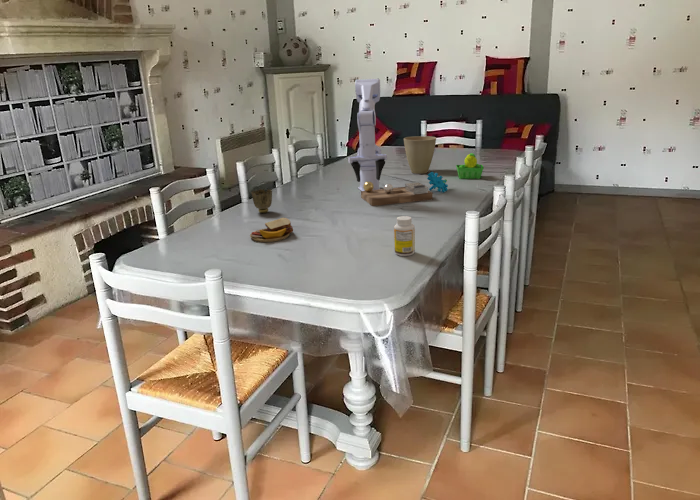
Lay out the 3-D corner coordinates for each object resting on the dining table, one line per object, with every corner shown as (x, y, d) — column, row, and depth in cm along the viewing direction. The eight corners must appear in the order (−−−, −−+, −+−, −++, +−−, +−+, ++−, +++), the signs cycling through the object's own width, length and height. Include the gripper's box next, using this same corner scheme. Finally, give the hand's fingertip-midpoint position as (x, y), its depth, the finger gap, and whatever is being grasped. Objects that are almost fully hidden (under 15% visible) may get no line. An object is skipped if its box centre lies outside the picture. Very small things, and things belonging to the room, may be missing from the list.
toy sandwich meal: (248, 234, 180) (246, 219, 178) (289, 229, 183) (288, 215, 182) (252, 245, 168) (251, 230, 167) (297, 240, 172) (296, 225, 170)
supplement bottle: (402, 248, 159) (401, 214, 156) (418, 252, 156) (418, 216, 152) (390, 254, 155) (389, 218, 152) (407, 258, 152) (406, 221, 148)
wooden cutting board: (361, 197, 220) (360, 191, 219) (418, 191, 225) (418, 185, 224) (371, 205, 206) (371, 199, 206) (432, 199, 212) (432, 193, 211)
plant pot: (437, 174, 255) (438, 139, 250) (405, 176, 255) (404, 140, 250) (433, 168, 269) (434, 135, 264) (402, 170, 270) (402, 136, 264)
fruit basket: (481, 175, 250) (482, 150, 246) (484, 179, 242) (485, 153, 238) (455, 176, 251) (456, 150, 248) (457, 180, 243) (457, 154, 239)
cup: (277, 210, 206) (275, 188, 203) (268, 215, 199) (266, 193, 197) (259, 209, 208) (257, 188, 206) (249, 214, 202) (247, 192, 199)
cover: (405, 189, 219) (405, 182, 218) (418, 187, 220) (418, 180, 219) (413, 194, 210) (413, 187, 209) (427, 193, 211) (427, 185, 210)
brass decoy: (362, 191, 219) (361, 181, 218) (372, 190, 220) (371, 180, 219) (365, 193, 215) (364, 183, 214) (375, 192, 216) (374, 182, 215)
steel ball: (388, 183, 216) (393, 191, 216) (381, 187, 215) (385, 195, 215) (391, 181, 212) (395, 189, 212) (383, 185, 211) (388, 193, 212)
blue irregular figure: (437, 191, 217) (425, 170, 221) (428, 200, 221) (416, 180, 225) (454, 189, 225) (442, 170, 228) (445, 198, 229) (433, 179, 232)
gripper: (351, 147, 201) (352, 184, 205) (389, 144, 204) (390, 180, 209) (346, 144, 207) (347, 180, 212) (383, 141, 211) (384, 177, 215)
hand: (368, 180), depth 211 cm, fingers open, 7 cm apart
